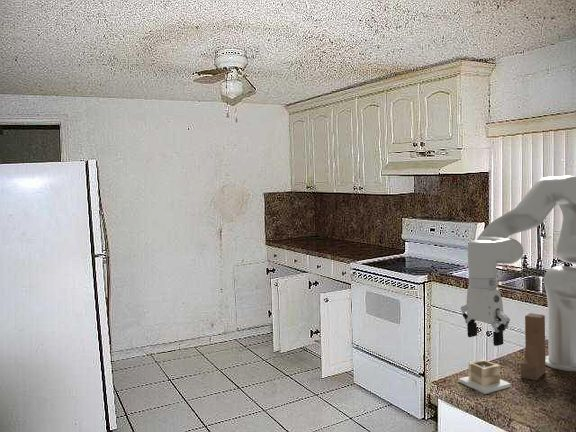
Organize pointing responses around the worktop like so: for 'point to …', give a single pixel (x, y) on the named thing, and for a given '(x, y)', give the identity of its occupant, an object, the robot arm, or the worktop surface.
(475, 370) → the maple collar
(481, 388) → the pin plate
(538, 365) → the wooden block
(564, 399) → the worktop surface
